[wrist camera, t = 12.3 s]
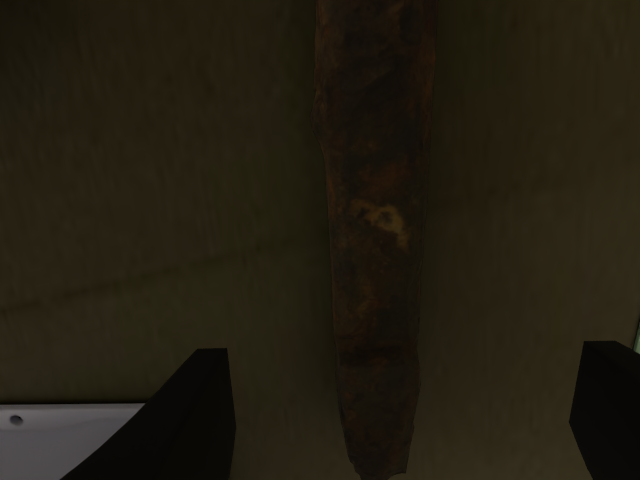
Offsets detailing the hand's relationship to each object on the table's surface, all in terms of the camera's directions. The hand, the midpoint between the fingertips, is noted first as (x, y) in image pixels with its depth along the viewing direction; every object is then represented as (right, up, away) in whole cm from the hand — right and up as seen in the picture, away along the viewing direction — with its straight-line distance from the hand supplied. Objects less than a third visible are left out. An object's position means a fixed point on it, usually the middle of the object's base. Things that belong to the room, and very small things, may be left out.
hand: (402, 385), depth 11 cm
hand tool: (0, +4, +8) cm, 9 cm away
